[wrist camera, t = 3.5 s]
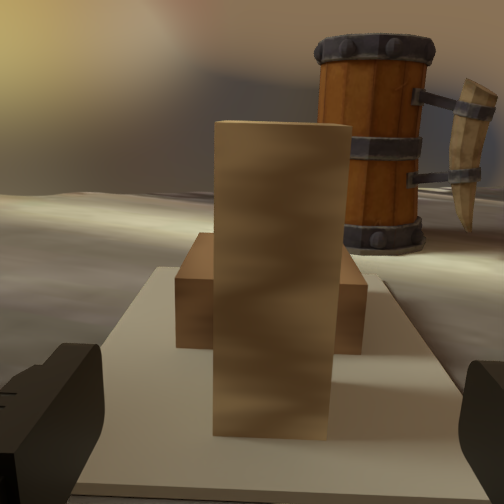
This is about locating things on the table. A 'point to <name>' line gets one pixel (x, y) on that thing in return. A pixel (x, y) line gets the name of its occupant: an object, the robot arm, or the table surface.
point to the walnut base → (201, 300)
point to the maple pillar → (276, 275)
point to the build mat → (278, 450)
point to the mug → (395, 136)
